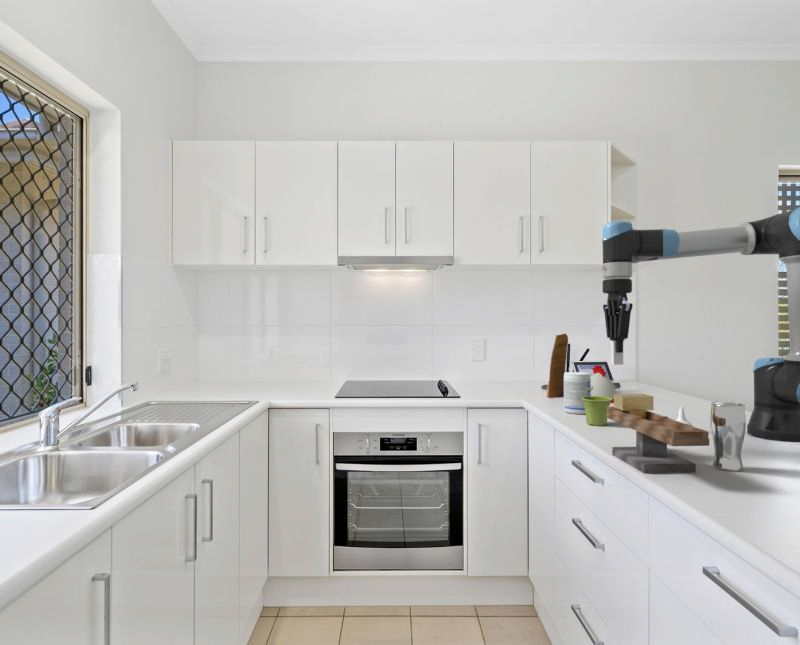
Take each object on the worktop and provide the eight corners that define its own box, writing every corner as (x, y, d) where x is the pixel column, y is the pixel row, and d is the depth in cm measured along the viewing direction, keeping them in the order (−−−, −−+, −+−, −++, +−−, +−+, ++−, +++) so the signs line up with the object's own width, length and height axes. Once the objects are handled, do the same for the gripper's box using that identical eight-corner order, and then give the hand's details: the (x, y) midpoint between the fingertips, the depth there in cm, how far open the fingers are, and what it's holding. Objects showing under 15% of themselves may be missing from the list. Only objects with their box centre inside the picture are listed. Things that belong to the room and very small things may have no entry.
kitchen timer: (603, 397, 231) (603, 363, 231) (624, 402, 218) (624, 366, 218) (575, 399, 228) (575, 364, 227) (595, 404, 214) (595, 367, 214)
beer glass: (748, 467, 122) (748, 403, 122) (742, 474, 117) (742, 407, 117) (713, 462, 127) (713, 400, 127) (707, 468, 122) (707, 404, 122)
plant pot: (616, 427, 168) (616, 400, 168) (586, 427, 168) (586, 400, 168) (606, 421, 177) (606, 396, 177) (578, 421, 178) (578, 396, 178)
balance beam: (599, 447, 142) (599, 406, 142) (642, 446, 143) (642, 405, 143) (663, 484, 110) (663, 431, 110) (718, 483, 111) (718, 430, 111)
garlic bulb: (665, 432, 163) (663, 407, 162) (681, 429, 165) (679, 404, 164) (682, 436, 157) (680, 410, 156) (698, 433, 159) (696, 407, 158)
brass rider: (613, 414, 138) (613, 393, 138) (643, 414, 138) (643, 393, 138) (622, 418, 133) (622, 396, 133) (653, 417, 133) (653, 396, 133)
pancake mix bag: (573, 394, 241) (573, 333, 241) (556, 399, 227) (556, 334, 226) (559, 392, 246) (559, 333, 245) (542, 397, 231) (541, 334, 231)
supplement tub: (593, 415, 190) (593, 374, 189) (567, 414, 190) (566, 374, 190) (587, 410, 199) (586, 371, 199) (561, 410, 200) (561, 371, 200)
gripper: (594, 280, 151) (594, 362, 151) (614, 277, 138) (614, 366, 138) (619, 280, 151) (619, 362, 151) (642, 277, 138) (642, 366, 138)
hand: (617, 364), depth 144 cm, fingers closed
